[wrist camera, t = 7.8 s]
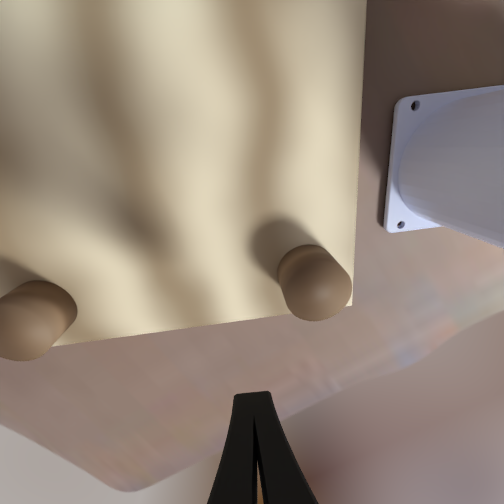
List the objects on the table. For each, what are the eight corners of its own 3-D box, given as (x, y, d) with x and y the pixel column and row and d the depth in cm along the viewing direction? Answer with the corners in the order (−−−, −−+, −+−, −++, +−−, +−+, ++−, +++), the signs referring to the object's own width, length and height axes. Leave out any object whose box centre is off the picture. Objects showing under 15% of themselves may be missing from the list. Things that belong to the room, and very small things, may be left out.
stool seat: (347, -168, 10) (436, -415, 6) (337, 286, 19) (370, 330, 14) (-191, -112, 10) (-549, -330, 5) (45, 325, 19) (-16, 384, 14)
